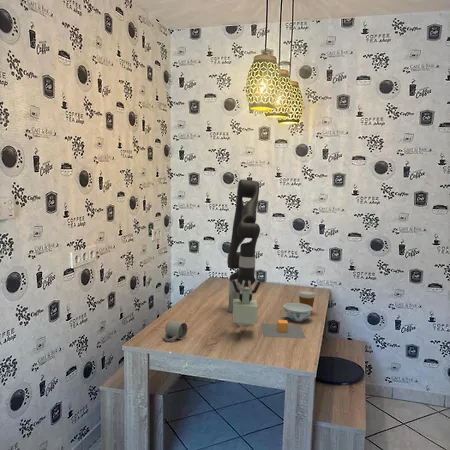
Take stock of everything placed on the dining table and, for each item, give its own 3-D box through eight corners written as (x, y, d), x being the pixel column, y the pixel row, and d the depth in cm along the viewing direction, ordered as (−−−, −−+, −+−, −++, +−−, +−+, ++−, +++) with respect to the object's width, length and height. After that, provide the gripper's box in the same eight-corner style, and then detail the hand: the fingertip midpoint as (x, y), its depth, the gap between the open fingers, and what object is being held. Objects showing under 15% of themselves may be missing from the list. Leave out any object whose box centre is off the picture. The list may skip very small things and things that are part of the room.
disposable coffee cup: (314, 316, 238) (315, 295, 237) (296, 315, 240) (298, 293, 239) (314, 311, 247) (315, 291, 246) (297, 309, 249) (298, 289, 248)
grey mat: (263, 338, 203) (263, 336, 203) (260, 325, 221) (260, 323, 221) (306, 340, 203) (306, 338, 203) (299, 326, 221) (299, 325, 221)
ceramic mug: (173, 332, 206) (173, 317, 205) (187, 336, 202) (188, 320, 201) (159, 340, 197) (159, 324, 196) (174, 344, 193) (174, 327, 192)
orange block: (278, 332, 210) (278, 323, 209) (277, 328, 214) (277, 319, 214) (287, 332, 210) (288, 323, 209) (286, 329, 214) (286, 320, 214)
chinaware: (301, 315, 239) (302, 301, 239) (317, 324, 226) (318, 310, 225) (277, 317, 234) (278, 303, 233) (291, 327, 220) (292, 312, 219)
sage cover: (233, 322, 200) (234, 292, 198) (232, 314, 211) (234, 286, 209) (256, 323, 200) (258, 293, 198) (255, 315, 211) (256, 287, 209)
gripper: (232, 266, 199) (230, 303, 201) (262, 267, 198) (260, 304, 200) (231, 263, 206) (230, 298, 208) (261, 264, 206) (259, 299, 208)
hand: (245, 301), depth 204 cm, fingers closed on sage cover, 3 cm apart
